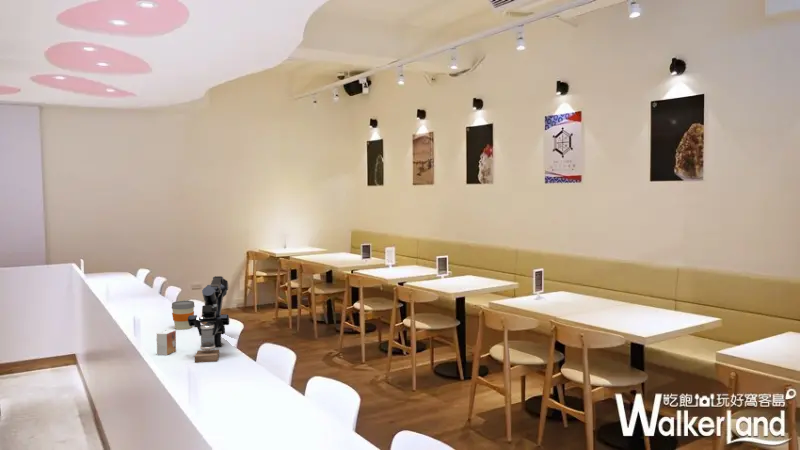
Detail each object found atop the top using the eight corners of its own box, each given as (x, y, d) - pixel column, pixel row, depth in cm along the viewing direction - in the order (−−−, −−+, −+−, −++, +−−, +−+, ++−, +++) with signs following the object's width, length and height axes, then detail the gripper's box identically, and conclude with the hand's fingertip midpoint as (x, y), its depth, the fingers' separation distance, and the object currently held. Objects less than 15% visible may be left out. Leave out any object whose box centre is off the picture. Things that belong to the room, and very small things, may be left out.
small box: (167, 355, 285) (166, 334, 285) (156, 354, 286) (156, 333, 286) (176, 351, 293) (176, 330, 293) (166, 350, 294) (165, 329, 294)
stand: (197, 356, 283) (197, 350, 283) (219, 355, 285) (219, 349, 285) (194, 362, 273) (194, 356, 273) (217, 361, 275) (217, 355, 275)
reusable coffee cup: (199, 327, 345) (199, 302, 344) (181, 331, 334) (180, 305, 334) (185, 324, 352) (185, 299, 351) (167, 328, 341) (166, 303, 340)
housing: (198, 347, 281) (198, 324, 281) (212, 345, 285) (212, 323, 284) (202, 350, 276) (202, 327, 275) (216, 348, 280) (216, 325, 279)
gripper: (188, 298, 282) (183, 326, 271) (228, 297, 285) (225, 325, 274) (191, 311, 290) (187, 339, 280) (230, 310, 293) (228, 338, 283)
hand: (207, 335), depth 279 cm, fingers closed on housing, 6 cm apart
